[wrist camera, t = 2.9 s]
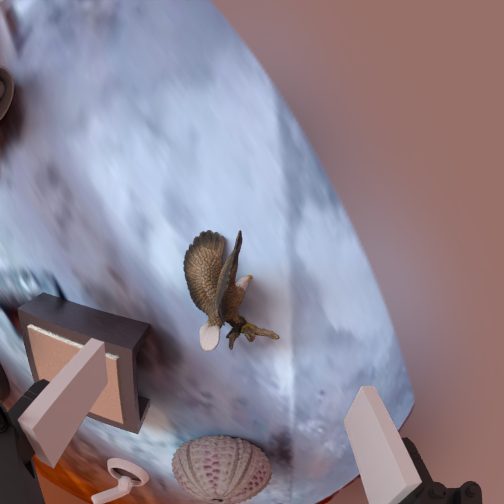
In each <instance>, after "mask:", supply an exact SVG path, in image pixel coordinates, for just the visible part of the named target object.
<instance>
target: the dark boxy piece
mask: <svg viewBox="0 0 504 504" xmlns="http://www.w3.org/2000/svg"><path fill="white" fill-rule="evenodd" d="M18 314H19V320H20V325H21V331H22V336H23V340H24V345H25V349H26V353H27V357H28V361H29V365H30V369H31V372H32V376H33V379H34V382H35V383H36V382H38V381H40V380H42V379H45V380H47V381H49V382H51V381H52V380H53V379H54V377H55V376H56V375H57V374H58V373H59V372H60V371H61V370H62V369H63V368H64V367H65V365H66V364H67V363H68V362H69V361H70V360H71V359H72V358H73V357H74V356H75V355H76V354H77V353H78V352H79V351H80V350H81V348H82V347H83V346H84V345H85V344H86V343H87V342H88V341H89V340H90V339H91V338H93V339H96V340H99V341H102V342H104V346H105V357H106V367H107V376H108V384H107V385H106V387H105V388H104V390H103V391H102V393H101V394H100V396H99V397H98V399H97V400H96V402H95V403H94V405H93V406H92V408H91V409H90V411H89V412H88V414H87V415H86V416H88V417H90V418H93V419H95V420H98V421H100V422H103V423H106V424H109V425H111V426H114V427H117V428H120V429H123V430H126V431H129V432H133V433H136V434H138V433H139V431H140V428H141V426H142V424H143V421H144V419H145V416H146V414H147V412H148V409H149V407H150V400H149V399H146V398H142V397H138V391H137V370H136V354H137V352H138V351H139V349H140V348H141V346H142V344H143V343H144V341H145V340H146V338H147V337H148V335H149V327H150V324H148V323H144V322H140V321H136V320H132V319H129V318H125V317H121V316H117V315H114V314H110V313H107V312H103V311H100V310H96V309H93V308H90V307H86V306H83V305H80V304H77V303H74V302H71V301H67V300H64V299H61V298H58V297H55V296H53V295H50V294H47V293H44V292H43V293H42V294H40V295H38V296H37V297H35V298H34V299H32V300H30V301H29V302H27V303H26V304H24V305H22V306H21V307H19V308H18Z"/></svg>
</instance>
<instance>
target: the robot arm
mask: <svg viewBox="0 0 504 504" xmlns="http://www.w3.org/2000/svg"><path fill="white" fill-rule="evenodd" d="M107 384H108V376H107V367H106V357H105V346H104V342H102V341H99V340H96V339H93V338H91V339H90V340H89V341H88V342H87V343H86V344H85V345H84V346H83V347H82V348H81V350H80V351H79V352H78V353H77V354H76V355H75V356H74V357H73V358H72V359H71V360H70V361H69V362H68V363H67V364H66V365H65V367H64V368H63V369H62V370H61V371H60V372H59V373H58V374H57V375H56V376H55V377H54V379H53V380H52V381H51V382H49V381H47V380H45V379H42V380H40V381H38V382H36V383H34V384H33V385H32V386H31V387H30V388H29V389H28V391H27V392H26V393H25V394H24V396H22V397H21V398H20V399H19V400H18V401H17V402H16V404H15V405H14V406H13V407H12V408H11V409H10V410H9V411H8V412H7V411H6V409H5V407H4V406H3V404H2V403H3V402H4V401H5V400H6V399H7V398H8V397H9V394H10V389H9V384H8V381H7V378H6V376H5V374H4V372H3V369H2V367H1V366H0V504H45V501H44V498H43V495H42V491H41V488H40V485H39V481H38V477H37V474H36V470H35V465H34V461H33V459H32V457H33V455H34V454H36V456H37V457H38V459H39V460H40V461H41V462H43V463H45V464H47V465H48V466H50V467H52V468H54V467H55V465H56V463H57V462H58V460H59V458H60V457H61V455H62V454H63V452H64V450H65V449H66V447H67V445H68V444H69V442H70V441H71V439H72V437H73V436H74V434H75V433H76V431H77V429H78V428H79V426H80V425H81V423H82V422H83V420H84V419H85V417H86V415H87V414H88V412H89V411H90V409H91V408H92V406H93V405H94V403H95V402H96V400H97V399H98V397H99V396H100V394H101V393H102V391H103V390H104V388H105V387H106V385H107ZM343 423H344V426H345V429H346V432H347V435H348V438H349V441H350V444H351V447H352V450H353V453H354V457H355V460H356V463H357V466H358V469H359V472H360V476H361V479H362V482H363V485H364V489H365V492H366V495H367V499H368V502H369V504H482V493H481V488H480V486H479V485H478V484H477V483H475V482H473V481H467V482H466V483H464V484H463V485H462V486H461V487H460V488H446V487H445V486H444V485H443V484H441V483H439V482H433V480H432V478H431V476H430V474H429V472H428V470H427V468H426V466H425V464H424V462H423V460H422V459H421V456H420V455H419V453H418V451H417V449H416V447H415V445H414V444H413V442H411V441H410V440H409V439H408V438H407V437H406V438H401V437H400V435H399V433H398V431H397V429H396V427H395V425H394V423H393V421H392V419H391V417H390V416H389V414H388V412H387V410H386V408H385V406H384V404H383V402H382V400H381V398H380V396H379V394H378V393H377V391H376V389H375V387H374V386H361V388H360V390H359V392H358V394H357V396H356V398H355V400H354V402H353V404H352V406H351V408H350V410H349V412H348V413H347V415H346V417H345V419H344V421H343Z"/></svg>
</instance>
